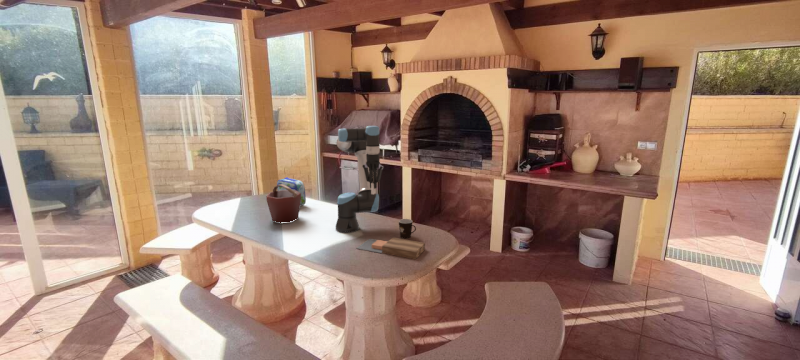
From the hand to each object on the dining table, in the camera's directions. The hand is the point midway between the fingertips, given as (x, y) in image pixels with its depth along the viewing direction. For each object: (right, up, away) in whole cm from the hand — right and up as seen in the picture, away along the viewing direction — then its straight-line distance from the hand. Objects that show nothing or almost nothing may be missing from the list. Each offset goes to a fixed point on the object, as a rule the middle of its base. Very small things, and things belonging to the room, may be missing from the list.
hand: (373, 193), depth 222 cm
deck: (+18, -32, -8) cm, 37 cm away
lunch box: (-71, -12, +82) cm, 109 cm away
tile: (+4, -30, -2) cm, 31 cm away
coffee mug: (+19, -27, +13) cm, 36 cm away
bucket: (-65, -20, +45) cm, 82 cm away
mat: (+1, -30, 0) cm, 30 cm away
